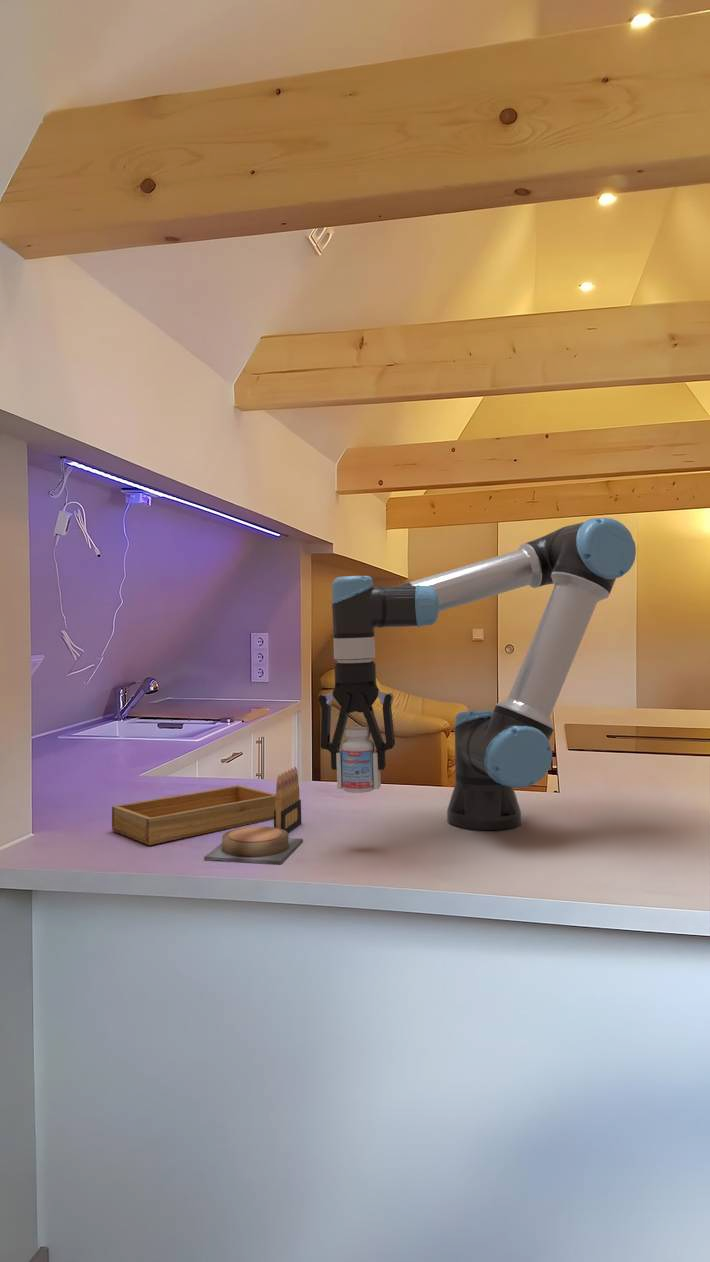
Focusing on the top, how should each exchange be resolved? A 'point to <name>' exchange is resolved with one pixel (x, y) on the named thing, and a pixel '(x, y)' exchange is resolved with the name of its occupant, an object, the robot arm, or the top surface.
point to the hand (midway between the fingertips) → (359, 787)
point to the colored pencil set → (287, 801)
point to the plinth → (255, 846)
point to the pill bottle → (357, 760)
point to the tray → (192, 814)
